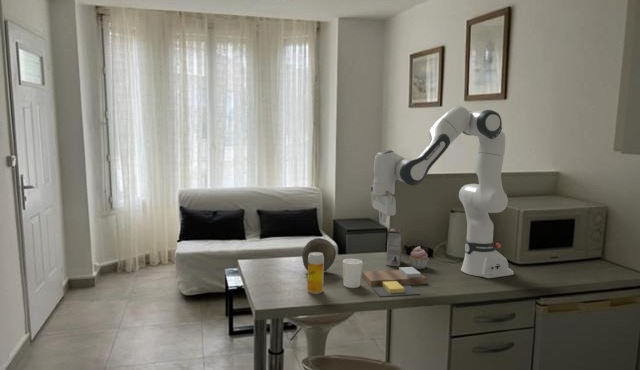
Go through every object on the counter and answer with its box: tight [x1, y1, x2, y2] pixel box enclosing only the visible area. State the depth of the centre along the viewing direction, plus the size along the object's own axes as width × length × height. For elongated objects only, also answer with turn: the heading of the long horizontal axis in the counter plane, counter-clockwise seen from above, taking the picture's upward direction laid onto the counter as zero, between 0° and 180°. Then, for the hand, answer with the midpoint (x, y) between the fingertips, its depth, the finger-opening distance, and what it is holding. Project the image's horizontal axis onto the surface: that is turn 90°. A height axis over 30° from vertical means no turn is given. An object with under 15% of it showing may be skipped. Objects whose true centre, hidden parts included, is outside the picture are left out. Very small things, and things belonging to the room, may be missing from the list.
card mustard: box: [382, 281, 405, 293], centre depth 187 cm, size 6×9×2 cm, turn 12°
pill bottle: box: [307, 252, 325, 295], centre depth 183 cm, size 6×6×15 cm
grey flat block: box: [398, 266, 422, 278], centre depth 200 cm, size 6×9×2 cm, turn 12°
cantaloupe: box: [301, 237, 337, 272], centre depth 206 cm, size 14×14×15 cm
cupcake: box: [408, 245, 430, 270], centre depth 217 cm, size 9×9×10 cm
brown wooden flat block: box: [361, 269, 428, 288], centre depth 199 cm, size 24×12×2 cm, turn 102°
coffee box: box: [385, 227, 403, 267], centre depth 223 cm, size 9×6×16 cm
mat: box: [370, 284, 421, 298], centre depth 186 cm, size 16×11×1 cm
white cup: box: [342, 258, 363, 289], centre depth 191 cm, size 8×8×10 cm
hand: (383, 222), depth 200 cm, fingers closed
